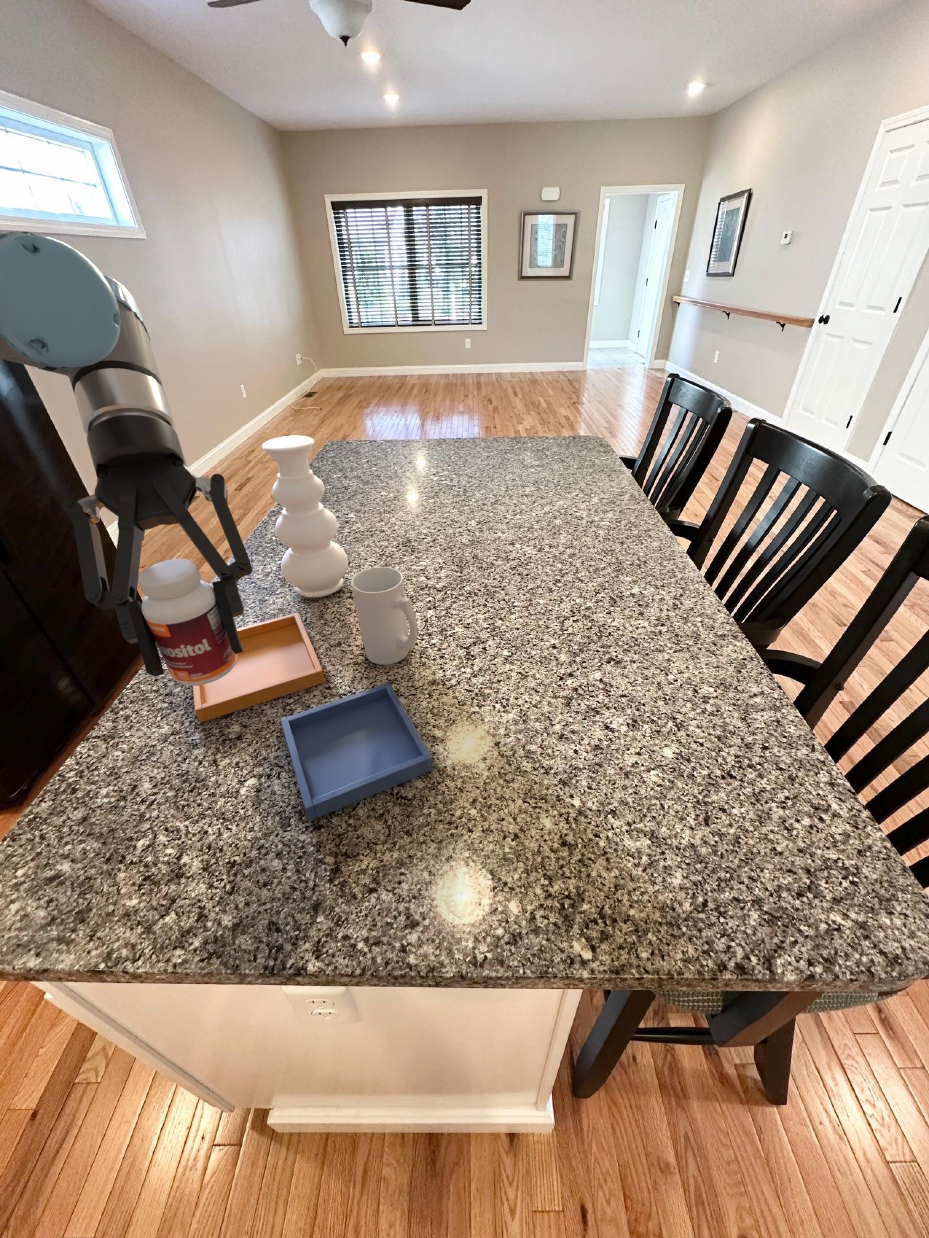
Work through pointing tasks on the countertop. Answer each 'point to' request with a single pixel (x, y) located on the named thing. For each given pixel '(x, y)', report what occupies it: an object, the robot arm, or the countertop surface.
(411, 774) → the blue tray
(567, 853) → the countertop surface
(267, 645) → the amber tray
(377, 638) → the mug
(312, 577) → the vase
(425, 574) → the countertop surface
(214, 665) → the pill bottle
